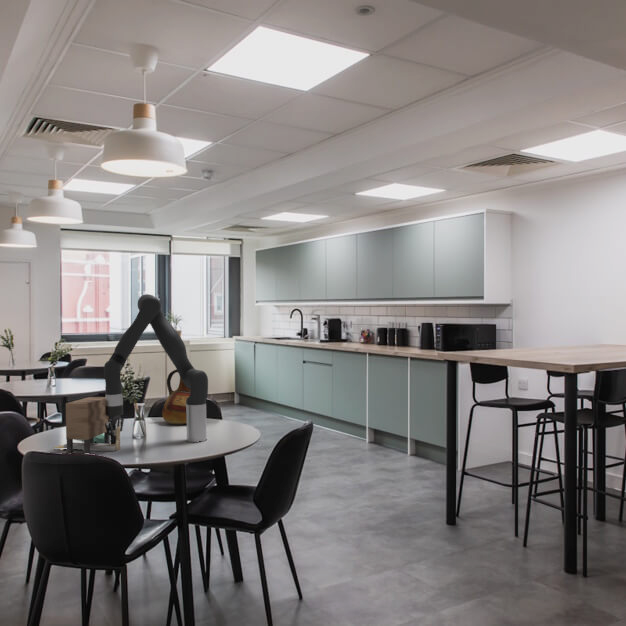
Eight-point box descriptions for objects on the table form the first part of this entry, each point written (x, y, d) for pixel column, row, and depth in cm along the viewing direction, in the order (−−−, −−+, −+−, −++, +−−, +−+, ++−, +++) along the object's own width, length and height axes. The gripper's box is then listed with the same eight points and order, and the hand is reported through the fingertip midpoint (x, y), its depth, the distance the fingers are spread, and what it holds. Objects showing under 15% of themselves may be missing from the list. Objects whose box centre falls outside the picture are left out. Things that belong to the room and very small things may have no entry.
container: (109, 431, 288) (83, 424, 306) (98, 438, 284) (72, 430, 302) (113, 442, 290) (88, 434, 307) (102, 449, 286) (77, 440, 303)
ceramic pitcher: (194, 426, 329) (193, 370, 329) (157, 426, 331) (156, 370, 331) (203, 420, 349) (203, 366, 349) (168, 420, 350) (167, 367, 350)
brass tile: (59, 448, 282) (59, 445, 282) (70, 448, 282) (70, 445, 282) (53, 451, 277) (53, 447, 277) (63, 451, 277) (63, 447, 277)
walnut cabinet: (90, 444, 288) (89, 396, 288) (110, 444, 287) (109, 397, 286) (66, 454, 268) (65, 403, 268) (88, 454, 267) (87, 403, 267)
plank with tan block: (69, 446, 281) (69, 424, 281) (121, 448, 278) (121, 426, 278) (63, 449, 277) (63, 426, 276) (116, 451, 273) (116, 428, 273)
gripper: (114, 406, 268) (115, 446, 268) (129, 401, 282) (130, 439, 282) (98, 406, 269) (99, 446, 269) (113, 401, 283) (114, 439, 283)
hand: (115, 442), depth 276 cm, fingers closed on plank with tan block, 3 cm apart
